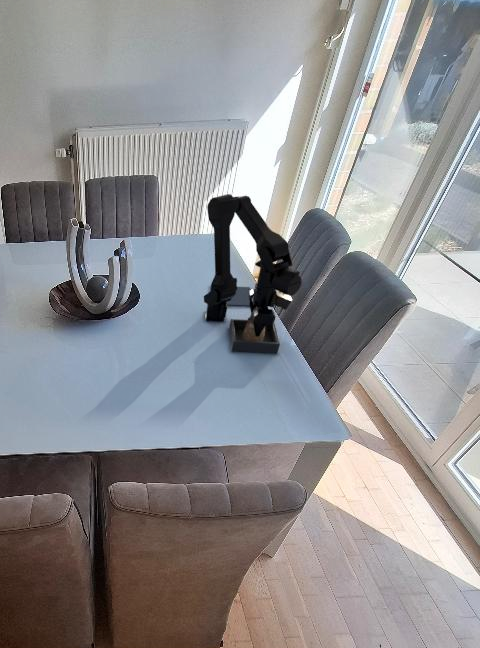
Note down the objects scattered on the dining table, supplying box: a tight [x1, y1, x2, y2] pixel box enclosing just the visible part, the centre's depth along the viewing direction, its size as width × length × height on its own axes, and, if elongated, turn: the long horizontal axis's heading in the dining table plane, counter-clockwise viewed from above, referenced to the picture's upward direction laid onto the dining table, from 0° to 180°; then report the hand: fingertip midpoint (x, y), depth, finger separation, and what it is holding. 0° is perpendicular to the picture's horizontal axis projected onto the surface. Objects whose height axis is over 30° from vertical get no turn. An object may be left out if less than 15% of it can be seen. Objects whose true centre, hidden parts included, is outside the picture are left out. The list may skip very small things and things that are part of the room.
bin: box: [228, 318, 281, 355], centre depth 154 cm, size 15×15×4 cm
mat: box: [226, 286, 251, 307], centre depth 178 cm, size 15×15×1 cm
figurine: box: [241, 308, 265, 342], centre depth 151 cm, size 7×7×12 cm
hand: (255, 330), depth 152 cm, fingers closed on figurine, 8 cm apart
